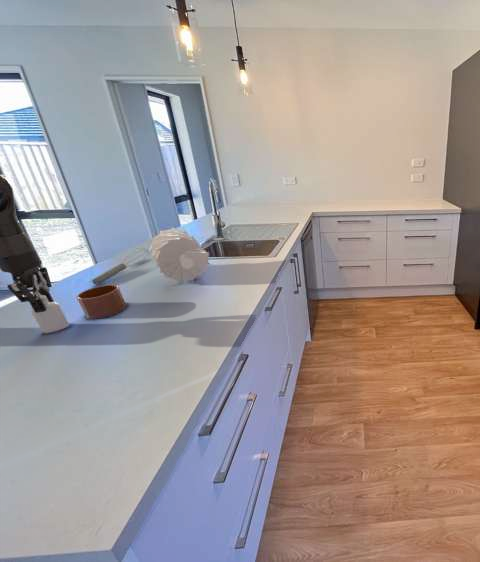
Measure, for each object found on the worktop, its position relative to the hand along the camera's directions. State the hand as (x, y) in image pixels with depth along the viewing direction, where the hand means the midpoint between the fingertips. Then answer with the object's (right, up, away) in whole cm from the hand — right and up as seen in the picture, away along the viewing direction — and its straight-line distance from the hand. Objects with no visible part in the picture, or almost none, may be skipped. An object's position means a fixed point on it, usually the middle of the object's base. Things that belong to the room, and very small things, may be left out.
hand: (45, 307), depth 86 cm
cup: (+6, -2, +12) cm, 14 cm away
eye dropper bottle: (0, -7, +3) cm, 7 cm away
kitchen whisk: (-14, +12, +45) cm, 49 cm away
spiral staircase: (+15, +10, +40) cm, 44 cm away
